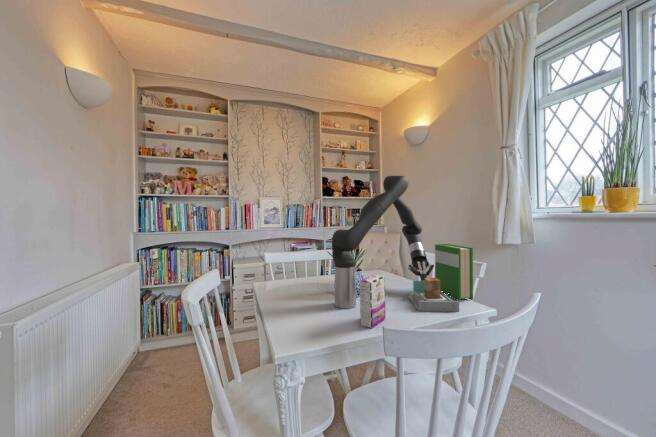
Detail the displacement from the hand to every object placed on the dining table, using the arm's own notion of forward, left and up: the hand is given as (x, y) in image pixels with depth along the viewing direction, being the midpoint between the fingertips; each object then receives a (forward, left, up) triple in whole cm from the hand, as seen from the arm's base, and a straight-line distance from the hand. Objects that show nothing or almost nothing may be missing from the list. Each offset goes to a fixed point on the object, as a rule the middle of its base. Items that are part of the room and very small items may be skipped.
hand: (424, 282), depth 125 cm
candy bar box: (-28, -31, -7) cm, 42 cm away
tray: (0, -9, -6) cm, 11 cm away
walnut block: (0, -11, -5) cm, 12 cm away
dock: (0, -10, -7) cm, 12 cm away
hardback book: (+15, +4, -7) cm, 17 cm away
